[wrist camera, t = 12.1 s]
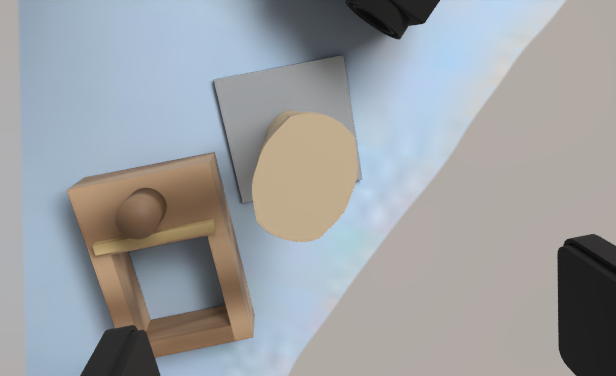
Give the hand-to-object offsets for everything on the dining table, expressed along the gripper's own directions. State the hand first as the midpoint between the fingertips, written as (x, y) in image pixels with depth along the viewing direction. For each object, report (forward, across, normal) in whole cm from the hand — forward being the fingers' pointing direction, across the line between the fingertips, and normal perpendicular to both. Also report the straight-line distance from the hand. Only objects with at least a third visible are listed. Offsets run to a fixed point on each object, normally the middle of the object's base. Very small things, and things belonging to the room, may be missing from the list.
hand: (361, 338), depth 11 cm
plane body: (+28, +12, +8) cm, 32 cm away
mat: (+28, 0, 0) cm, 28 cm away
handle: (+28, 0, 0) cm, 28 cm away
